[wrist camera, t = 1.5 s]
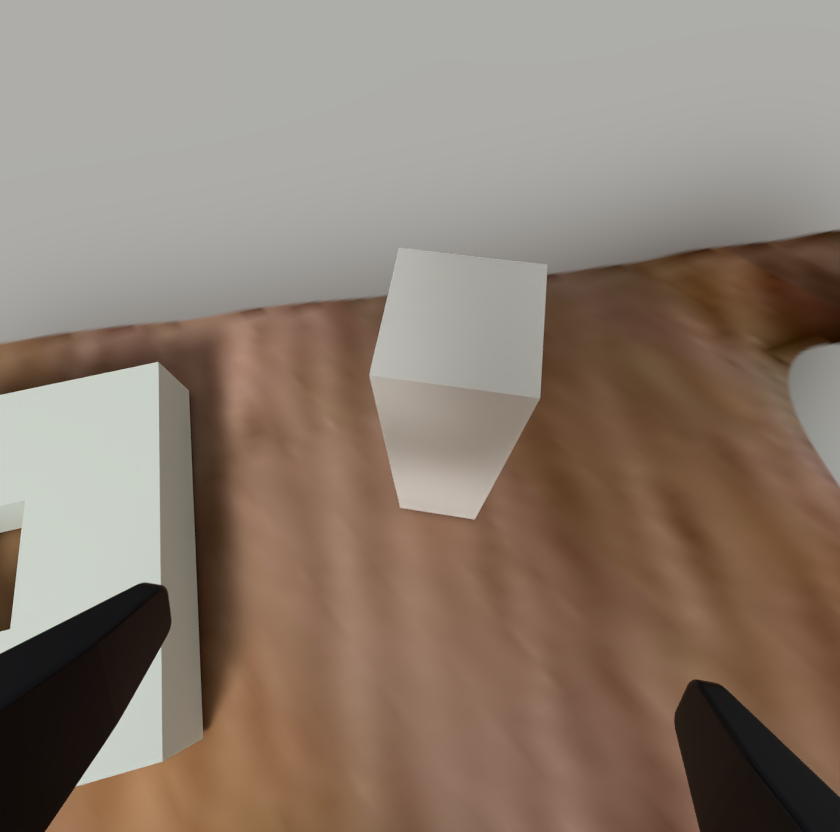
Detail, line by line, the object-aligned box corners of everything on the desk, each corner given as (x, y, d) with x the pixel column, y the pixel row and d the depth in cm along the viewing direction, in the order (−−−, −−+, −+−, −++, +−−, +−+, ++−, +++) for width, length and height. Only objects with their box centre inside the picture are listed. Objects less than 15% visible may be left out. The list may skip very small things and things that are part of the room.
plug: (474, 519, 21) (540, 398, 9) (400, 507, 21) (369, 374, 9) (482, 448, 22) (547, 264, 11) (412, 438, 23) (398, 247, 11)
